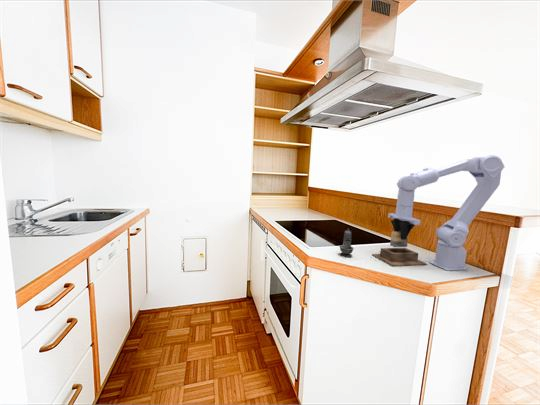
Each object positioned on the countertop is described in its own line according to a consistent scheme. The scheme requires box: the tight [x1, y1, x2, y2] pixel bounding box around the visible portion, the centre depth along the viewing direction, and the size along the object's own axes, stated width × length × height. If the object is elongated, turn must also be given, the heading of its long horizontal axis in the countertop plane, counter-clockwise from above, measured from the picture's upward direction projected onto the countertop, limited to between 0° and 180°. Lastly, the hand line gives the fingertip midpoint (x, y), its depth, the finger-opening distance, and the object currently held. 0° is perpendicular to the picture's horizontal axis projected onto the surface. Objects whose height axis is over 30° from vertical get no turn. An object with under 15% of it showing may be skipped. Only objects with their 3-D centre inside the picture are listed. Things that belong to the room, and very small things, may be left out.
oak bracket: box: [389, 230, 410, 248], centre depth 92 cm, size 6×2×6 cm, turn 102°
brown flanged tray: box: [371, 247, 427, 268], centre depth 93 cm, size 16×12×4 cm
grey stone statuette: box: [338, 228, 355, 259], centre depth 95 cm, size 6×6×12 cm
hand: (400, 238), depth 92 cm, fingers closed on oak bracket, 2 cm apart
